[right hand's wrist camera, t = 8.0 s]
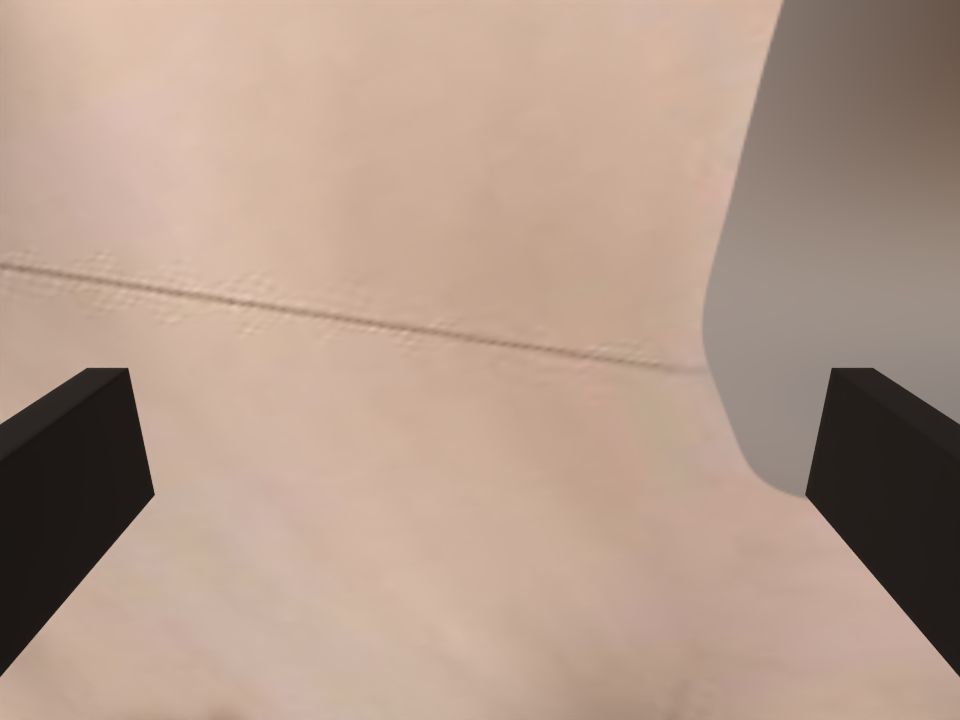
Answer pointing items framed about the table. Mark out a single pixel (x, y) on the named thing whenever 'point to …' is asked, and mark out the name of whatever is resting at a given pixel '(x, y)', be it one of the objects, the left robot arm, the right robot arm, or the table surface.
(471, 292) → the table surface
